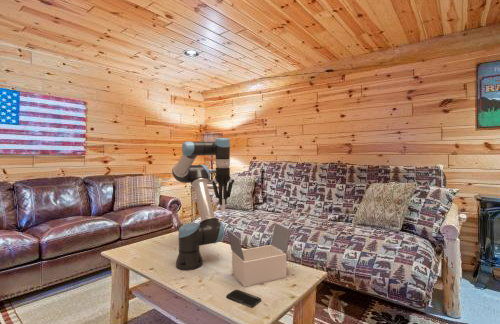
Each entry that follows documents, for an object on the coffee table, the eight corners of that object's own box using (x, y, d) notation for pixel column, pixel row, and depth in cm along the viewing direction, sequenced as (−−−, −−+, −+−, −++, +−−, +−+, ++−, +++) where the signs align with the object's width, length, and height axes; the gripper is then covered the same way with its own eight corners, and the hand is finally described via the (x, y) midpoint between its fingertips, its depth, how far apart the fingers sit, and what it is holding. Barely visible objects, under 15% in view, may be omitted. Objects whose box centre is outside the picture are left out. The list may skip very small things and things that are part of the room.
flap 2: (275, 223, 163) (276, 223, 163) (271, 243, 162) (271, 243, 162) (290, 230, 149) (291, 230, 149) (285, 252, 148) (286, 252, 148)
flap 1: (232, 250, 152) (231, 250, 152) (227, 229, 150) (226, 229, 150) (244, 260, 138) (243, 261, 138) (239, 238, 136) (238, 238, 136)
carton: (232, 274, 153) (232, 251, 152) (271, 265, 163) (271, 244, 162) (244, 287, 139) (244, 262, 138) (286, 277, 149) (286, 254, 148)
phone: (235, 289, 136) (262, 298, 127) (235, 291, 136) (262, 301, 127) (225, 296, 129) (252, 306, 120) (225, 298, 129) (252, 309, 120)
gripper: (213, 168, 145) (213, 213, 147) (236, 167, 151) (236, 211, 153) (208, 167, 151) (208, 210, 153) (231, 166, 158) (231, 208, 159)
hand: (222, 210), depth 153 cm, fingers closed
